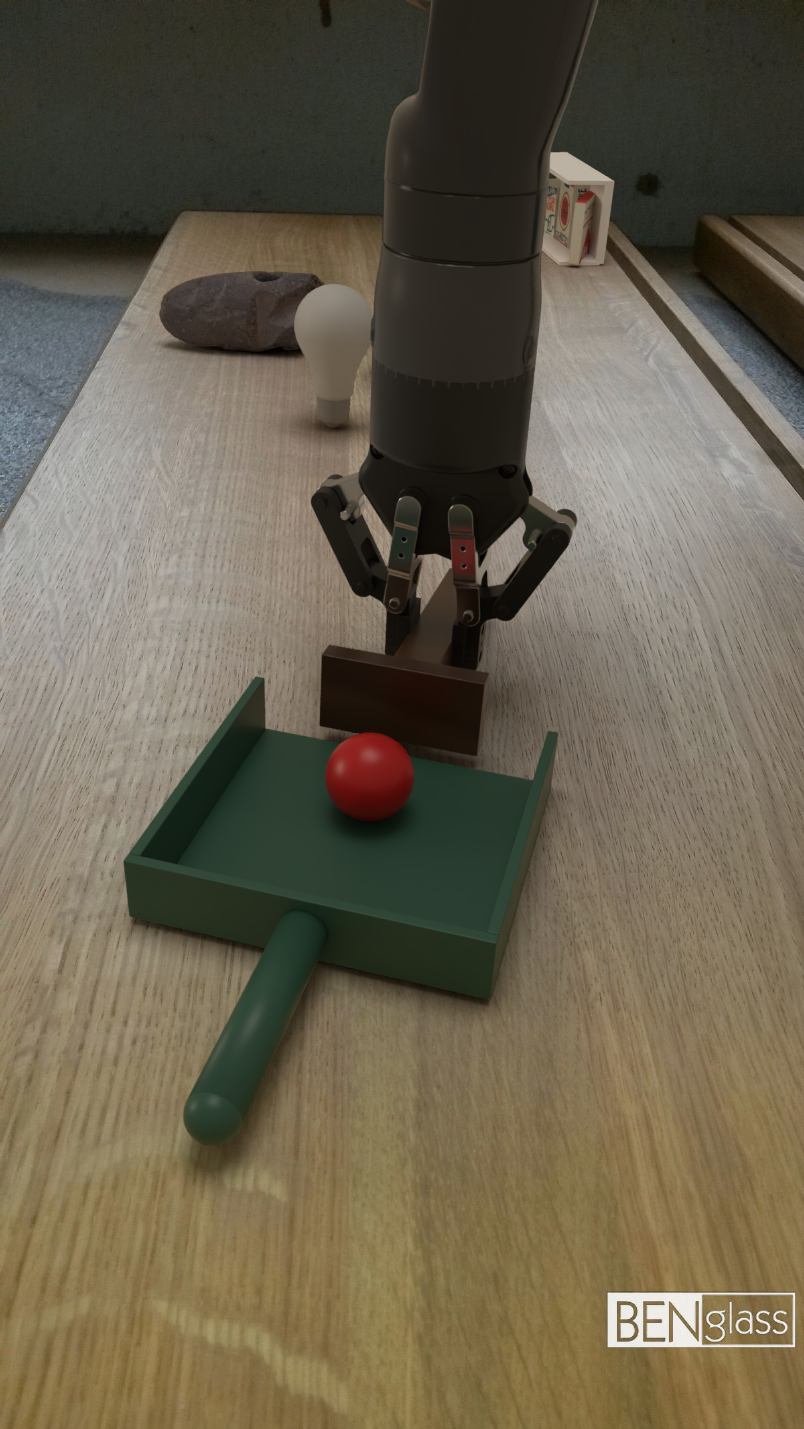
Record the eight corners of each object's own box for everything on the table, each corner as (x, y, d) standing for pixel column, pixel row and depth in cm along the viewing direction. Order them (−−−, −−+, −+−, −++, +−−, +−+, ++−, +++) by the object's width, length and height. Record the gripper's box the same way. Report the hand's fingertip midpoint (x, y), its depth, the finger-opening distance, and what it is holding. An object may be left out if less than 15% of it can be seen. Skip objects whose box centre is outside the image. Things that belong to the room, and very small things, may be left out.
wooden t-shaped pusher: (400, 606, 73) (404, 543, 71) (531, 628, 71) (539, 565, 69) (319, 726, 60) (321, 654, 58) (476, 757, 59) (484, 683, 57)
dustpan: (256, 731, 61) (255, 675, 59) (550, 788, 58) (558, 731, 57) (-1, 1117, 42) (-15, 1051, 40) (425, 1233, 39) (431, 1168, 37)
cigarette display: (518, 229, 160) (525, 151, 154) (559, 229, 161) (567, 152, 155) (562, 268, 143) (571, 182, 138) (607, 268, 144) (618, 183, 139)
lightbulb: (282, 418, 98) (281, 278, 92) (351, 409, 101) (354, 272, 94) (313, 445, 94) (314, 299, 88) (384, 434, 96) (389, 292, 90)
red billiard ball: (405, 758, 52) (394, 843, 53) (429, 731, 55) (418, 811, 57) (317, 740, 53) (308, 824, 54) (346, 714, 56) (338, 793, 58)
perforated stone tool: (156, 352, 111) (150, 274, 107) (166, 335, 115) (162, 259, 111) (320, 361, 111) (321, 282, 107) (325, 344, 115) (326, 268, 111)
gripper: (616, 345, 57) (571, 660, 67) (335, 309, 60) (330, 617, 70) (594, 394, 51) (548, 733, 61) (282, 353, 54) (285, 683, 63)
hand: (432, 670), depth 65 cm, fingers closed on wooden t-shaped pusher, 2 cm apart
